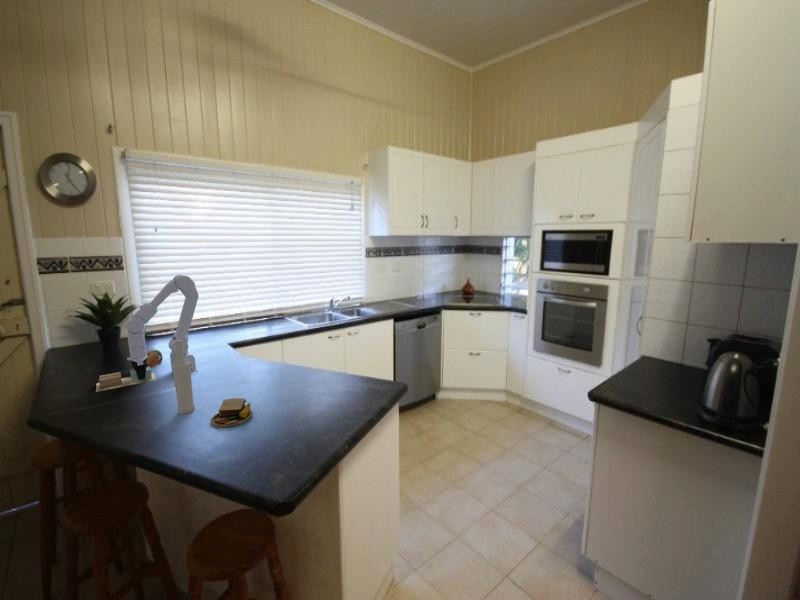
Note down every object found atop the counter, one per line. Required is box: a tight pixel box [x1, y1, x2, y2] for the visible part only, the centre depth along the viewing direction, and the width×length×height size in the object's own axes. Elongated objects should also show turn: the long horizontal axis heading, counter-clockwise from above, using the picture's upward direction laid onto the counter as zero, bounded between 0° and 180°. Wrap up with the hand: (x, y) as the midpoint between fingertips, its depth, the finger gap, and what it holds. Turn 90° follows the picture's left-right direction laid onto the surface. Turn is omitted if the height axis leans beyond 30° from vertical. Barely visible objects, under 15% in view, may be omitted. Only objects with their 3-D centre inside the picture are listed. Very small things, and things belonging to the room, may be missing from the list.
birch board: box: [95, 372, 157, 393], centre depth 157 cm, size 20×12×1 cm, turn 127°
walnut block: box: [98, 371, 123, 389], centre depth 154 cm, size 7×7×4 cm
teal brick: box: [129, 367, 152, 382], centre depth 160 cm, size 5×7×4 cm
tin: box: [130, 349, 163, 370], centre depth 175 cm, size 15×3×8 cm, turn 168°
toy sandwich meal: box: [210, 397, 253, 428], centre depth 123 cm, size 12×14×5 cm
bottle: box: [172, 340, 196, 415], centre depth 128 cm, size 5×5×25 cm
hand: (141, 377), depth 160 cm, fingers closed on teal brick, 5 cm apart
